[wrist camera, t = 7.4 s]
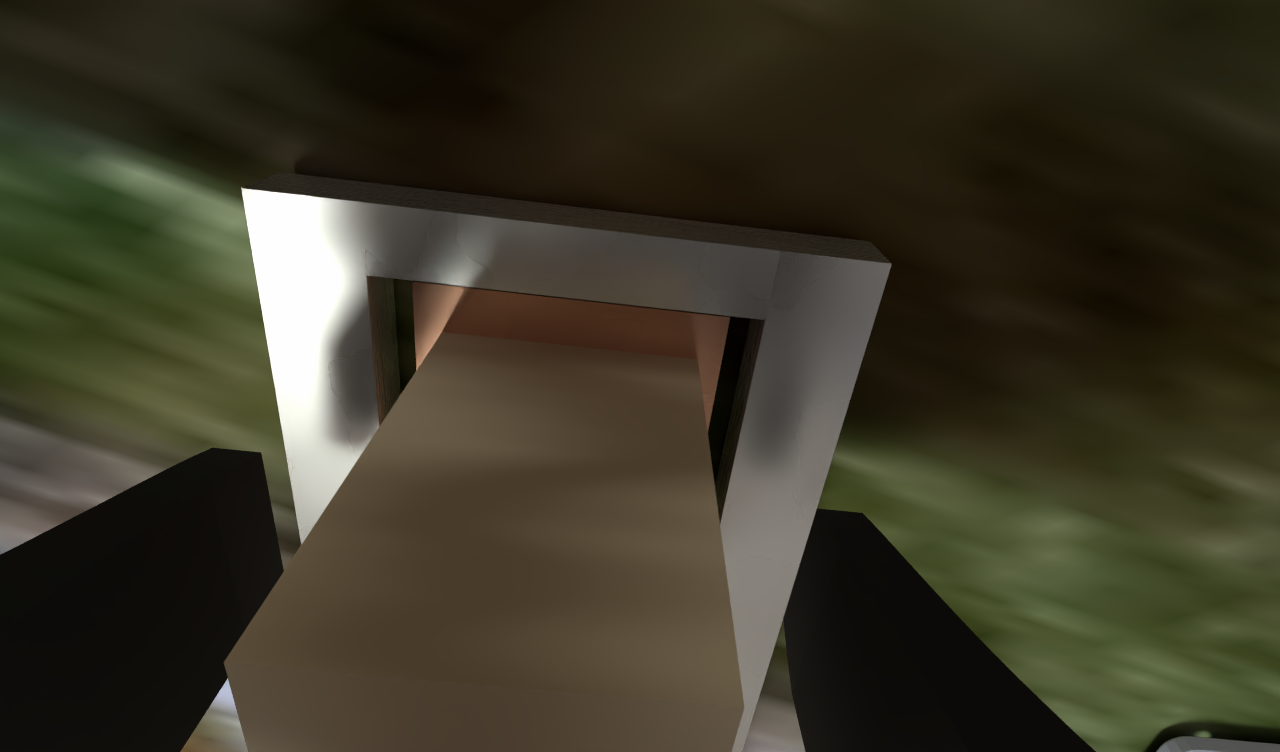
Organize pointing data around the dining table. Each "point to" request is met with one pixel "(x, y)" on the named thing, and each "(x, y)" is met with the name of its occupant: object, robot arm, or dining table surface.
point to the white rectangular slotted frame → (571, 338)
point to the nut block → (509, 570)
